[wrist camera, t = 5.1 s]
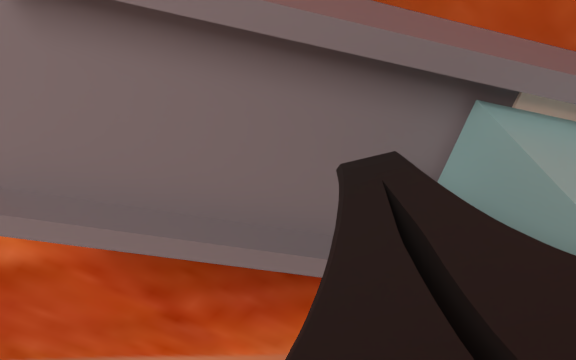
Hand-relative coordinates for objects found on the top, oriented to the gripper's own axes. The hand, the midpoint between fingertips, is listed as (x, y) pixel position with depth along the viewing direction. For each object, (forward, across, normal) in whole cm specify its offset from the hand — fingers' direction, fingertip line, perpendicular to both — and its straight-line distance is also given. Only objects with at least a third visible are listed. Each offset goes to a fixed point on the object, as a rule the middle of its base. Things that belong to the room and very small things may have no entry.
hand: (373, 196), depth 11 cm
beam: (+5, -3, +2) cm, 6 cm away
